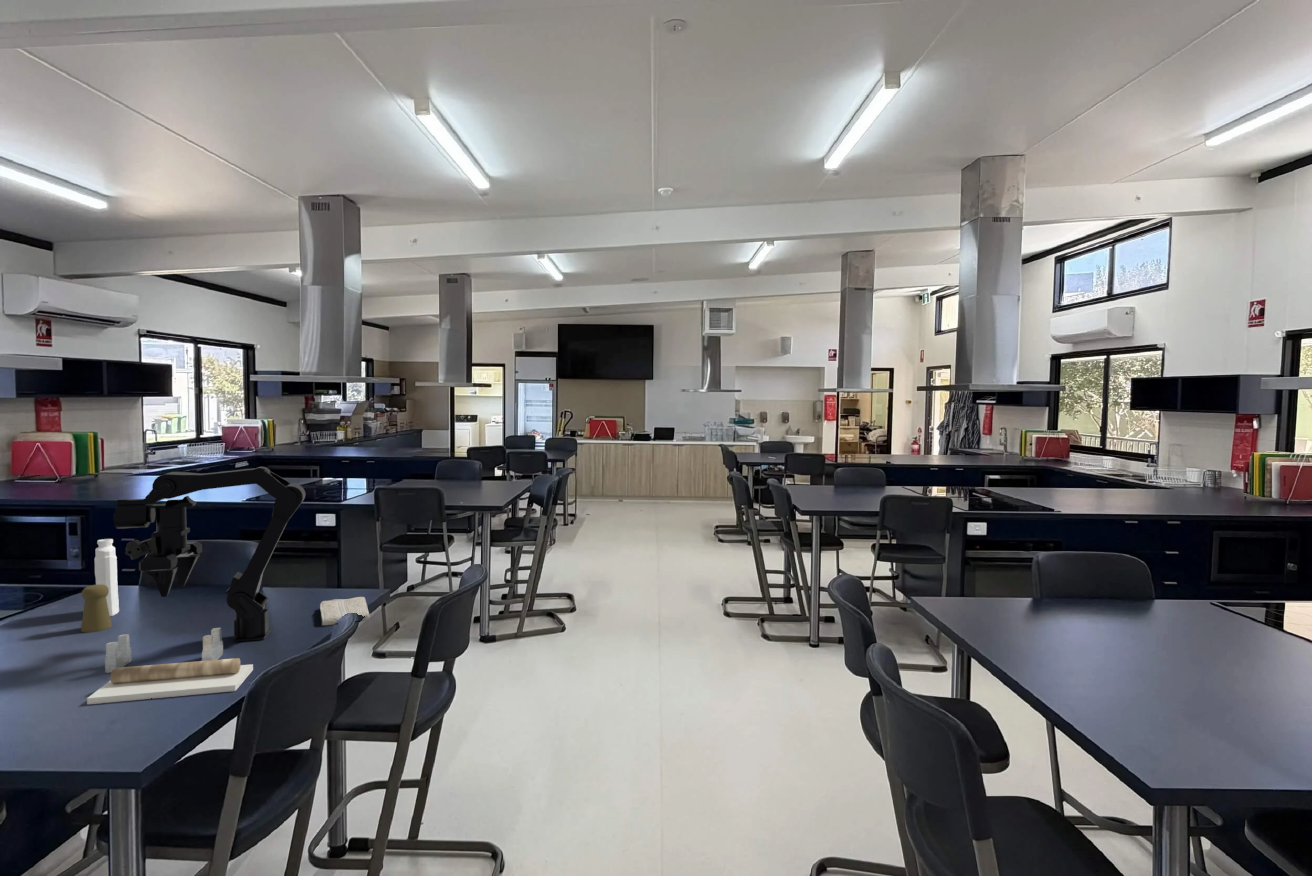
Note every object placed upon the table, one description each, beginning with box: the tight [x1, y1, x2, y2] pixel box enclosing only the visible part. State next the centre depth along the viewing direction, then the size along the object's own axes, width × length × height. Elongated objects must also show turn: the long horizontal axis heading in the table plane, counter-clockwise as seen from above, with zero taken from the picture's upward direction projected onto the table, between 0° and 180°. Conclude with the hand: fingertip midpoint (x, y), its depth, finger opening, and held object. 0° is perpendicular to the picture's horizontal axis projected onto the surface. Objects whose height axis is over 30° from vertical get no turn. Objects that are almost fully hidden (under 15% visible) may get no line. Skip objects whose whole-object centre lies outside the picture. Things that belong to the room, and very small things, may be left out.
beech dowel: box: [109, 657, 241, 684], centre depth 136 cm, size 22×3×3 cm
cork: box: [80, 584, 112, 633], centre depth 168 cm, size 6×6×11 cm
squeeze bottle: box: [94, 538, 120, 617], centre depth 180 cm, size 10×20×5 cm
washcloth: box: [319, 596, 371, 627], centre depth 182 cm, size 12×18×3 cm, turn 29°
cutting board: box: [86, 663, 254, 705], centre depth 135 cm, size 25×11×1 cm, turn 105°
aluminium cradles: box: [104, 627, 224, 674], centre depth 146 cm, size 20×6×6 cm, turn 105°
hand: (173, 591), depth 156 cm, fingers open, 9 cm apart
